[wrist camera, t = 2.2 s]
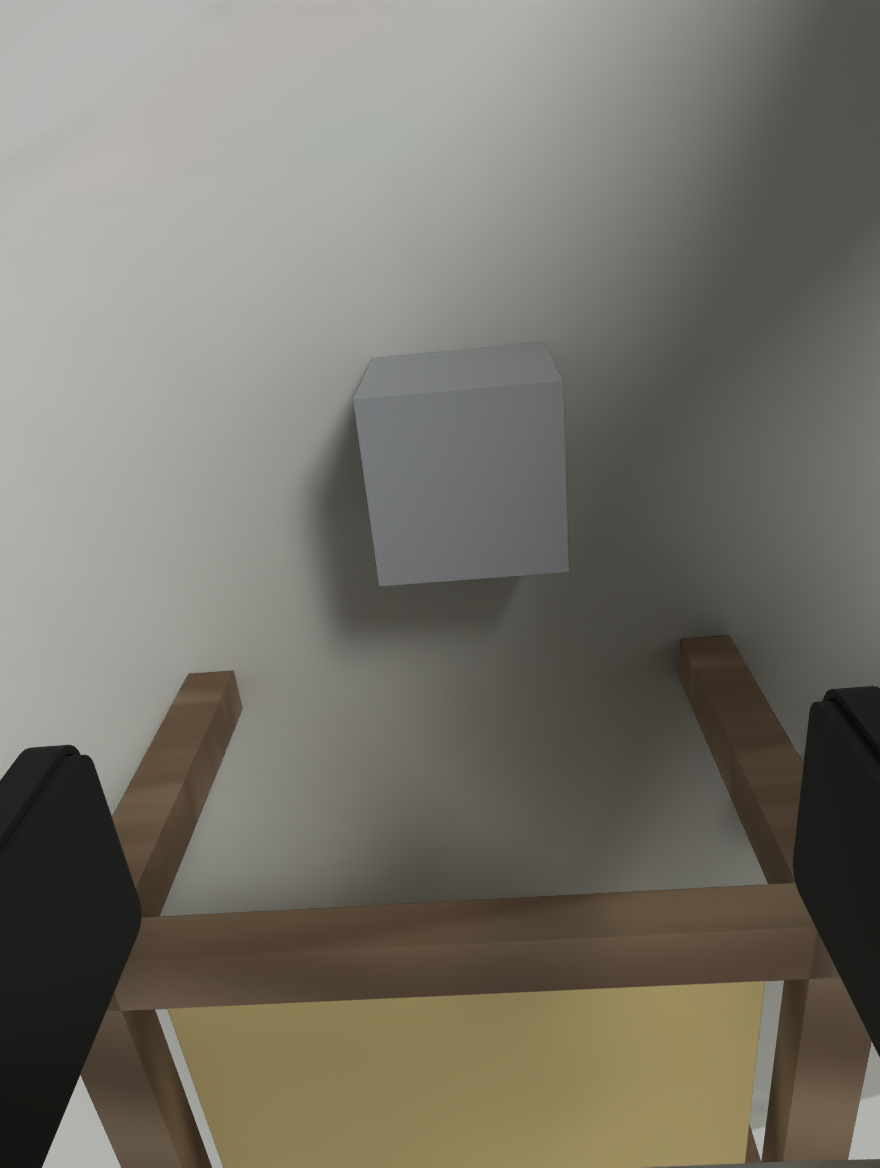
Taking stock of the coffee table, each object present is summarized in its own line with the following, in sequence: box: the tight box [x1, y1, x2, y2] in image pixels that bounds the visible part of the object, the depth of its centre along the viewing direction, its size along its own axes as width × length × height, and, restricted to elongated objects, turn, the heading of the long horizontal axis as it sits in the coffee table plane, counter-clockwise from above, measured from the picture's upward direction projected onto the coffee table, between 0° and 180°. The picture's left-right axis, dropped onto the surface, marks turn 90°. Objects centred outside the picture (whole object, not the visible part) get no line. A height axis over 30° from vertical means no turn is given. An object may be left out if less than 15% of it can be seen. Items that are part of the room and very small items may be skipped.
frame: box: [80, 636, 872, 1168], centre depth 28 cm, size 19×19×12 cm
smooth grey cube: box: [353, 342, 569, 586], centre depth 23 cm, size 5×5×5 cm
